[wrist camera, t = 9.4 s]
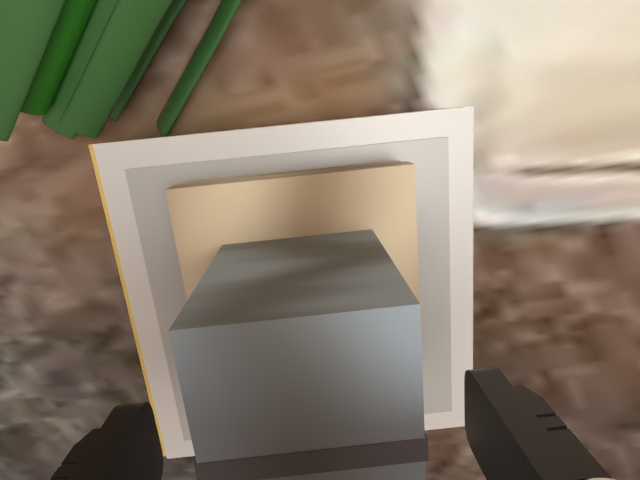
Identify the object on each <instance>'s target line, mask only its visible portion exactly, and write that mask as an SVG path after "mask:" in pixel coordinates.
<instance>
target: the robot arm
mask: <svg viewBox="0 0 640 480" xmlns="http://www.w3.org/2000/svg"><path fill="white" fill-rule="evenodd" d="M464 412H465V430H466V435H467V439H468V442H469V445H470V447H471V450H472V452H473V454H474V456H475V458H476V460H477V462H478V464H479V465H480V467H481V469H482V471H483V473H484V475H485V477H486V479H487V480H615V479H612V478H611V477H610V476H609V475H608V474H607V472H606V471H605V470H604V469H603V468H602V467H601V465H600V464H599V463H598V462H597V461H596V460H595V458H594V457H593V456H592V455H591V454H590V453H589V451H588V450H587V449H586V448H585V447H584V446H583V444H582V443H581V442H580V441H579V440H578V439H577V437H576V436H575V435H574V434H573V433H572V432H571V430H570V429H567V426H566V425H565V423H564V422H563V421H562V420H561V419H560V418H559V416H556V414H555V412H554V411H553V409H552V408H551V407H550V406H549V405H548V404H547V403H546V401H545V400H544V399H543V398H542V397H541V396H539V395H537V394H536V393H534V392H532V391H531V390H529V389H528V388H526V387H524V386H523V385H522V386H512V385H511V384H510V382H509V381H508V380H507V378H506V377H505V376H504V375H503V373H502V372H501V371H500V370H499V369H498V368H497V367H492V368H482V369H472V370H466V372H465V376H464ZM61 464H62V465H61V467H58V469H57V470H56V472H55V473H54V475H53V476H52V477H51V480H161V476H162V472H163V452H162V447H161V443H160V439H159V434H158V430H157V426H156V422H155V417H154V413H153V409H152V407H151V405H150V404H149V403H148V402H146V403H136V404H126V405H118V406H116V407H115V408H114V409H113V410H112V412H111V413H110V415H109V416H108V418H107V419H106V421H105V422H104V424H103V425H102V427H101V428H99V429H93V430H92V431H91V432H90V433H88V434H87V435H86V436H85V437H84V438H82V439H81V440H80V441H79V442H78V443H76V444H75V445H74V446H73V448H72V449H71V451H70V452H69V453H68V455H67V456H66V458H65V459H64V460H63V462H62V463H61Z"/></svg>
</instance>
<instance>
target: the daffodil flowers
mask: <svg viewBox="0 0 640 480" xmlns="http://www.w3.org/2000/svg"><path fill="white" fill-rule="evenodd" d="M186 1H187V0H0V140H1V141H8V140H9V138H10V135H11V133H12V130H13V128H14V125H15V123H16V120H17V118H18V116H19V113H20V111H21V112H24V113H27V114H32V115H43V114H45V115H44V117H43V119H42V121H43V122H44V123H45V124H46V125H47V126H49V127H50V128H52V129H53V130H55V131H56V132H58V133H60V134H62V135H64V136H66V137H69V138H72V139H75V137H76V134H80V135H84V136H88V137H98V136H99V134H100V132H101V130H102V128H103V127H104V125H105V123H106V121H107V119H108V117H110V118H111V119H112V120H114V121H117V119H118V118H119V116H120V114H121V112H122V111H123V109H124V107H125V105H126V104H127V102H128V100H129V98H130V97H131V95H132V93H133V91H134V90H135V88H136V86H137V84H138V83H139V81H140V79H141V77H142V76H143V74H144V72H145V70H146V69H147V67H148V65H149V64H150V62H151V60H152V58H153V57H154V55H155V53H156V51H157V50H158V48H159V46H160V44H161V43H162V41H163V39H164V37H165V36H166V34H167V32H168V30H169V29H170V27H171V25H172V23H173V22H174V20H175V18H176V17H177V15H178V14H179V12H180V10H181V9H182V7H183V6H184V4H185V3H186ZM241 2H242V0H222V1H221V3H220V5H219V7H218V9H217V11H216V13H215V15H214V17H213V19H212V21H211V23H210V25H209V26H208V28H207V30H206V32H205V34H204V36H203V37H202V39H201V41H200V43H199V45H198V47H197V48H196V50H195V52H194V54H193V56H192V58H191V59H190V61H189V63H188V65H187V67H186V69H185V70H184V72H183V74H182V76H181V78H180V80H179V81H178V83H177V85H176V87H175V89H174V91H173V92H172V94H171V96H170V98H169V100H168V102H167V103H166V105H165V107H164V109H163V111H162V113H161V115H160V116H159V118H158V120H157V125H158V128H159V130H160V132H161V133H162V134H163V135H164V136H167V135H168V133H169V131H170V129H171V128H172V126H173V124H174V122H175V121H176V119H177V117H178V115H179V113H180V112H181V110H182V108H183V106H184V105H185V103H186V101H187V99H188V98H189V96H190V94H191V92H192V91H193V89H194V87H195V85H196V84H197V82H198V80H199V78H200V77H201V75H202V73H203V71H204V70H205V68H206V66H207V64H208V63H209V61H210V59H211V57H212V56H213V54H214V52H215V50H216V49H217V47H218V45H219V43H220V42H221V40H222V38H223V36H224V34H225V32H226V30H227V28H228V27H229V25H230V23H231V21H232V19H233V17H234V15H235V13H236V11H237V10H238V8H239V6H240V4H241Z"/></svg>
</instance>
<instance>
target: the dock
mask: <svg viewBox="0 0 640 480" xmlns="http://www.w3.org/2000/svg"><path fill="white" fill-rule="evenodd" d="M89 149H90V154H91V158H92V162H93V166H94V170H95V175H96V179H97V183H98V187H99V191H100V195H101V200H102V204H103V208H104V212H105V216H106V221H107V225H108V229H109V233H110V237H111V242H112V246H113V250H114V254H115V258H116V262H117V267H118V271H119V275H120V279H121V283H122V288H123V292H124V296H125V300H126V304H127V308H128V313H129V317H130V321H131V325H132V329H133V334H134V338H135V342H136V346H137V350H138V355H139V359H140V363H141V367H142V371H143V375H144V380H145V384H146V388H147V392H148V396H149V401H150V405H151V407H152V409H153V413H154V417H155V422H156V426H157V430H158V434H159V439H160V443H161V447H162V452H163V456H166V457H167V459H170V458H180V457H189V456H195V454H194V449H193V444H192V440H191V435H190V430H189V426H188V421H187V416H186V412H185V407H184V402H183V398H182V393H181V389H180V384H179V379H178V375H177V370H176V365H175V361H174V356H173V351H172V347H171V342H170V337H169V333H168V330H169V329H170V327H171V326H172V324H173V322H174V321H175V319H176V318H177V316H178V314H179V313H180V311H181V310H182V308H183V306H184V305H185V303H186V302H187V298H186V293H185V288H184V283H183V278H182V273H181V267H180V262H179V257H178V252H177V247H176V242H175V237H174V232H173V227H172V222H171V217H170V212H169V207H168V202H167V196H166V191H165V190H166V189H168V188H169V187H171V186H173V185H180V184H183V183H185V182H192V181H202V180H211V179H221V178H231V177H241V176H251V175H260V174H270V173H280V172H290V171H299V170H309V169H319V168H329V167H339V166H348V165H358V164H368V163H378V162H388V161H397V160H399V161H401V162H405V161H408V162H411V163H413V164H415V184H416V212H417V240H418V269H419V297H420V314H421V342H422V370H423V399H424V427H425V430H434V429H443V428H452V427H461V426H465V412H464V376H465V372H466V370H472V369H473V106H472V107H458V108H444V109H433V110H423V111H413V112H403V113H393V114H383V115H373V116H363V117H353V118H343V119H333V120H323V121H313V122H303V123H293V124H283V125H272V126H262V127H252V128H242V129H232V130H222V131H212V132H202V133H192V134H182V135H172V136H162V137H152V138H142V139H132V140H124V141H116V142H108V143H99V144H90V145H89Z"/></svg>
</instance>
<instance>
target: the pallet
mask: <svg viewBox="0 0 640 480" xmlns="http://www.w3.org/2000/svg"><path fill="white" fill-rule="evenodd" d="M165 191H166V196H167V202H168V207H169V212H170V217H171V222H172V227H173V232H174V237H175V242H176V247H177V252H178V257H179V262H180V267H181V273H182V278H183V283H184V288H185V293H186V298H187V302H186V303H185V305H184V306H183V308H182V310H181V311H180V313H179V314H178V316H177V318H176V319H175V321H174V322H173V324H172V326H171V327H170V329H169V330H168V333H169V337H170V342H171V347H172V351H173V356H174V361H175V365H176V370H177V375H178V379H179V384H180V389H181V393H182V398H183V402H184V407H185V412H186V416H187V421H188V426H189V430H190V435H191V440H192V444H193V449H194V454H195V458H196V460H195V463H194V466H195V471H196V476H197V480H426V461H428V441H427V436H426V434H425V427H424V399H423V370H422V342H421V314H420V297H419V269H418V240H417V212H416V184H415V164H413V163H411V162H408V161H405V162H401V161H399V160H397V161H388V162H378V163H368V164H358V165H348V166H339V167H329V168H319V169H309V170H299V171H290V172H280V173H270V174H260V175H251V176H241V177H231V178H221V179H211V180H202V181H192V182H185V183H183V184H180V185H173V186H171V187H169V188H168V189H166V190H165Z"/></svg>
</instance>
